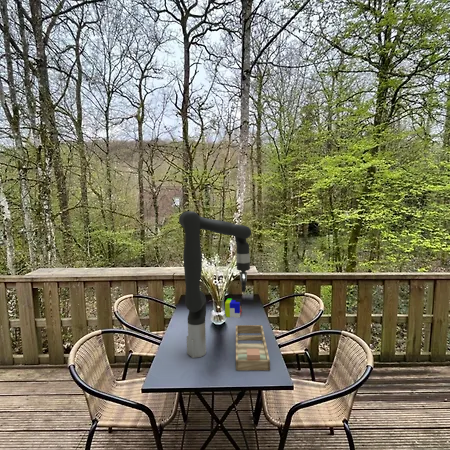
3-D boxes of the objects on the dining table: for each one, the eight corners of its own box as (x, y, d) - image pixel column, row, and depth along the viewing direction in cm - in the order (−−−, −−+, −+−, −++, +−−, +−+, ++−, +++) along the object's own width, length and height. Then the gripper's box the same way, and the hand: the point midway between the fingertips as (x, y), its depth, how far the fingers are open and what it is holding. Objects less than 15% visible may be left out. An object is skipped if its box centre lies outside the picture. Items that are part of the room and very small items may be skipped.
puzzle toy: (239, 318, 202) (239, 303, 201) (225, 317, 204) (224, 303, 203) (241, 312, 211) (241, 298, 210) (227, 311, 213) (227, 298, 212)
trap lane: (269, 370, 139) (269, 361, 139) (236, 370, 140) (235, 361, 139) (262, 332, 179) (262, 325, 178) (235, 332, 179) (235, 325, 179)
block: (260, 365, 140) (259, 355, 140) (247, 365, 140) (247, 355, 140) (259, 358, 146) (258, 348, 146) (246, 358, 146) (246, 348, 146)
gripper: (250, 263, 158) (250, 295, 159) (249, 258, 171) (249, 287, 172) (236, 263, 158) (237, 295, 160) (236, 258, 171) (236, 288, 173)
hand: (243, 291), depth 166 cm, fingers closed
